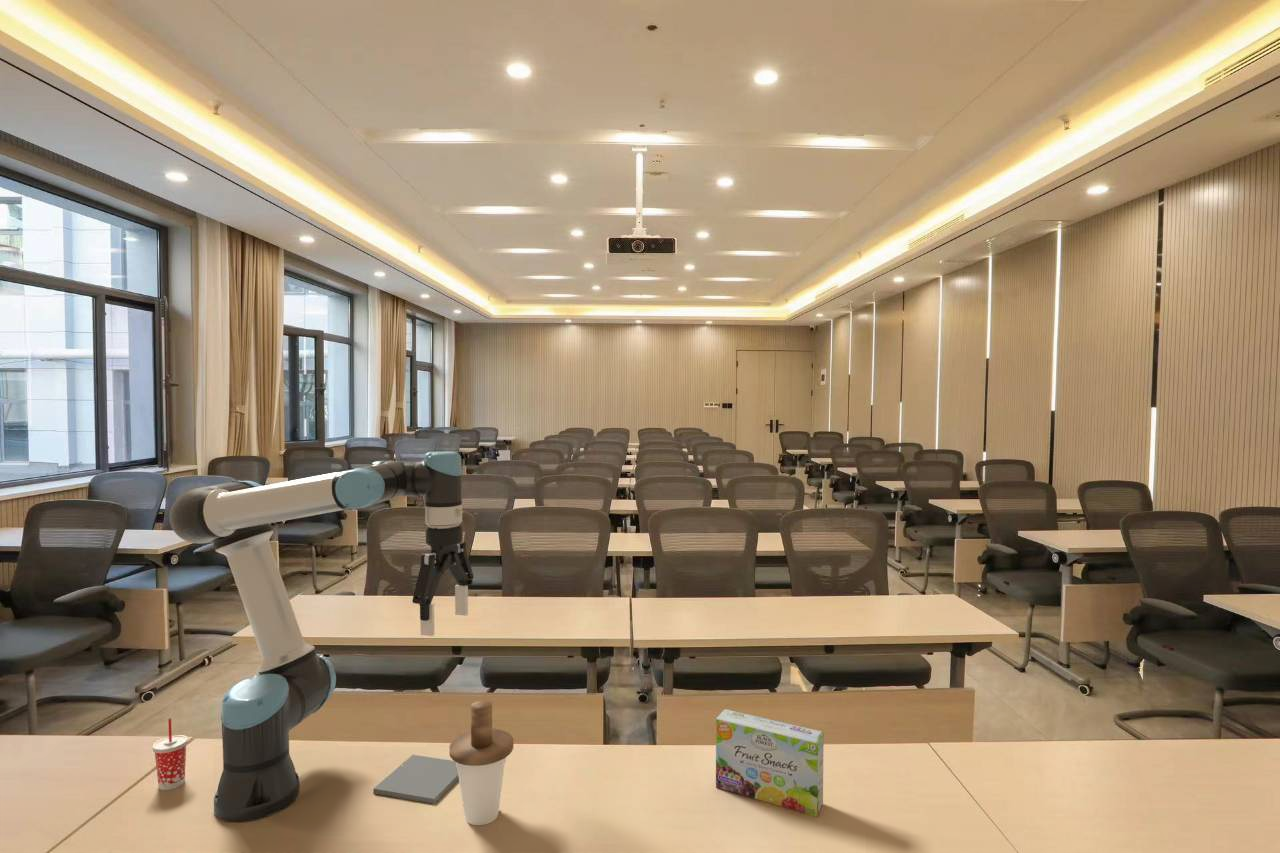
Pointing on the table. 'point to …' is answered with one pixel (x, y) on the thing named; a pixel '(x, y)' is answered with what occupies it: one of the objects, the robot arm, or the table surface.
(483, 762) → the lid
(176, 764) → the beverage cup
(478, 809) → the foam cup
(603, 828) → the table surface
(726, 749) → the snack box
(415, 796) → the mat
